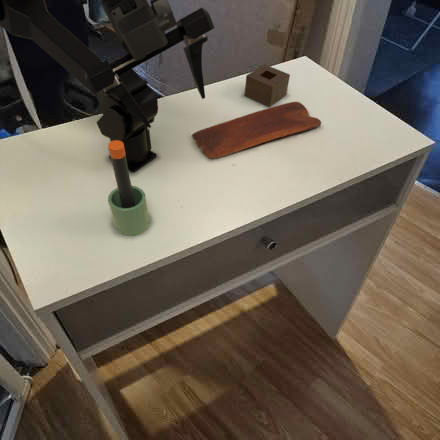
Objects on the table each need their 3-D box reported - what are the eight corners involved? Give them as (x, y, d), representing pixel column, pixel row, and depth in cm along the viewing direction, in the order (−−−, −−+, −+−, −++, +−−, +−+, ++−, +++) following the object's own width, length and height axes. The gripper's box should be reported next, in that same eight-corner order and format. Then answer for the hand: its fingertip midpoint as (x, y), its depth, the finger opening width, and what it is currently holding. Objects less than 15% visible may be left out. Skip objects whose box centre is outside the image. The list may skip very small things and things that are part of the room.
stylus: (124, 217, 64) (106, 141, 53) (137, 214, 64) (122, 139, 53) (126, 226, 63) (108, 150, 51) (139, 223, 63) (124, 148, 52)
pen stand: (269, 107, 85) (272, 86, 81) (244, 96, 87) (246, 75, 84) (286, 94, 88) (290, 74, 85) (261, 84, 91) (264, 63, 87)
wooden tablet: (296, 104, 86) (298, 96, 85) (323, 128, 81) (325, 120, 80) (186, 134, 79) (186, 126, 77) (209, 162, 74) (209, 154, 72)
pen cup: (131, 241, 62) (126, 215, 57) (107, 224, 64) (100, 198, 59) (156, 221, 65) (153, 196, 60) (132, 206, 66) (127, 180, 62)
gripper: (48, 23, 45) (122, 151, 53) (193, -58, 44) (245, 85, 52) (61, 31, 54) (122, 139, 62) (181, -36, 53) (227, 82, 62)
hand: (176, 112), depth 59 cm, fingers open, 9 cm apart
